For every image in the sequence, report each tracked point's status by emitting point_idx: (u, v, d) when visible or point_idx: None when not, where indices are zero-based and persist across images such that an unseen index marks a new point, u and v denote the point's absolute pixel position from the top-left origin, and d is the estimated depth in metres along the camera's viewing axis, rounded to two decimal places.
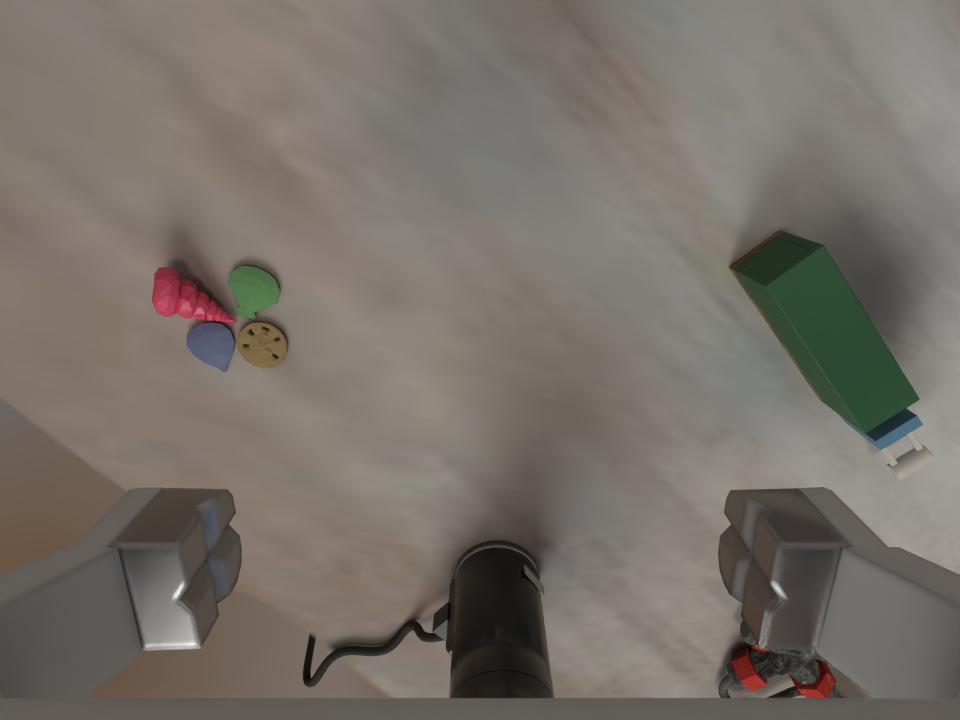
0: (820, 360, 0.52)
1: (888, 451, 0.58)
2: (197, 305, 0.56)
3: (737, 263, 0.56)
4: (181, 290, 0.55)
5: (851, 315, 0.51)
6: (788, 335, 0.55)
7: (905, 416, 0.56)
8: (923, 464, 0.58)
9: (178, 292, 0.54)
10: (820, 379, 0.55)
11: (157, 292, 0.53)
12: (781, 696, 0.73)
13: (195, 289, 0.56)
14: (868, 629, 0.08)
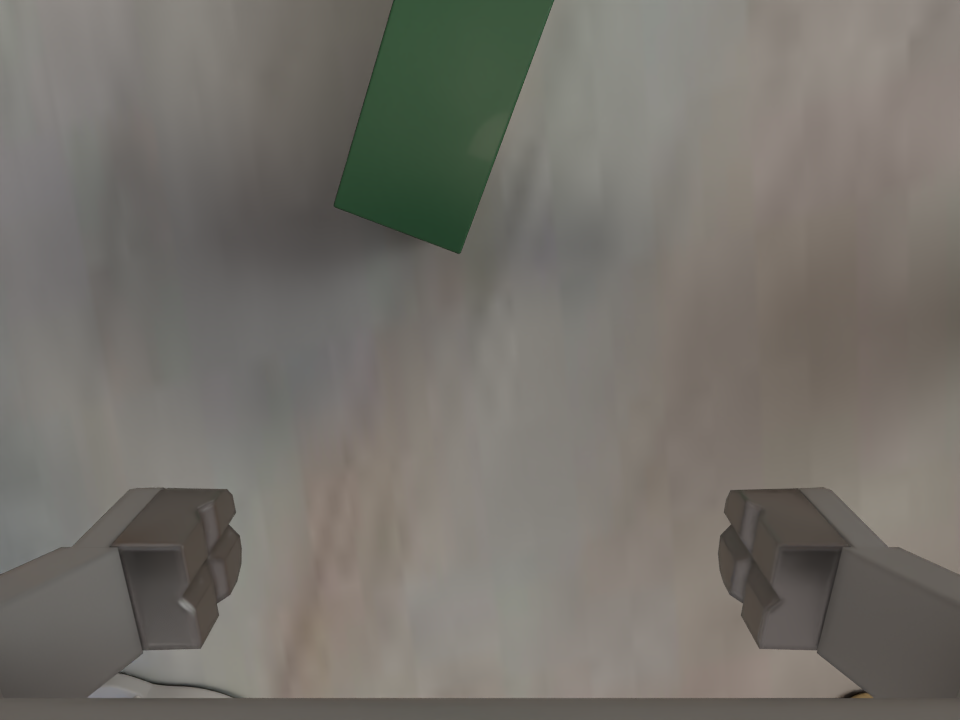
0: (533, 27, 0.22)
1: None
2: None
3: None
4: None
5: (412, 40, 0.22)
6: None
7: None
8: None
9: None
10: None
11: None
12: None
13: None
14: (868, 629, 0.08)
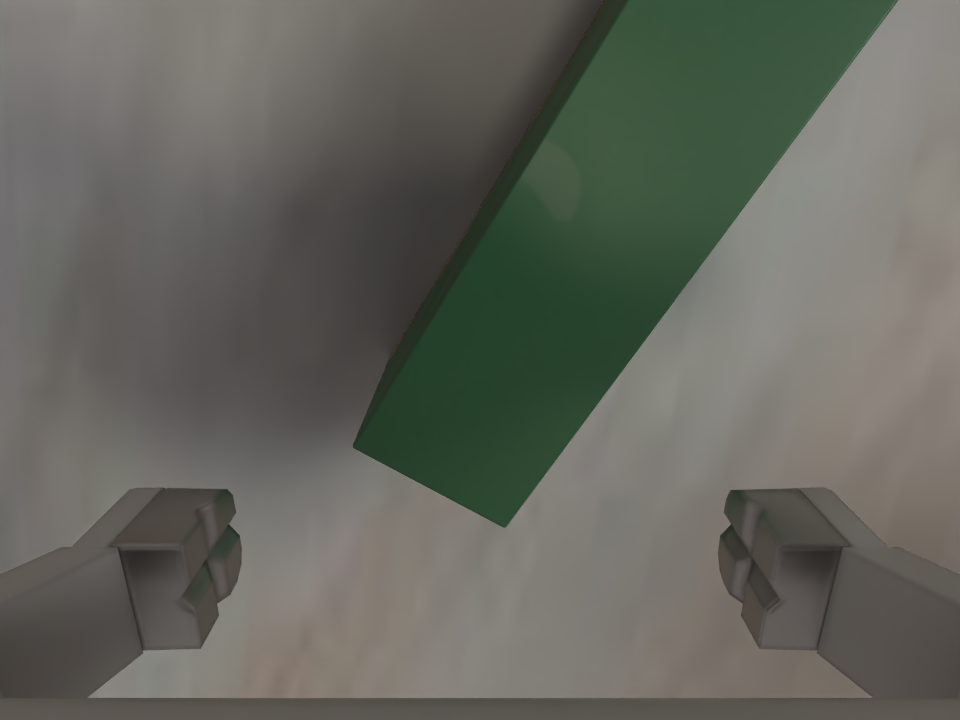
0: (667, 290, 0.16)
1: None
2: None
3: None
4: None
5: (504, 274, 0.16)
6: None
7: None
8: None
9: None
10: None
11: None
12: None
13: None
14: (868, 629, 0.08)
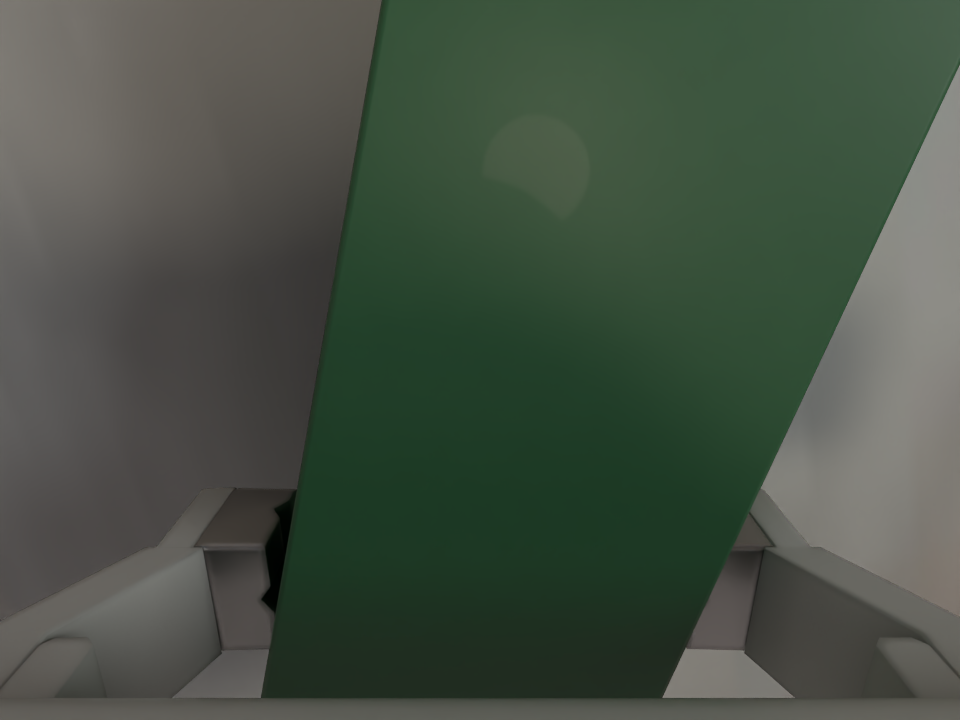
0: (792, 352, 0.07)
1: None
2: None
3: None
4: None
5: (401, 428, 0.07)
6: None
7: None
8: None
9: None
10: None
11: None
12: None
13: None
14: (789, 629, 0.08)
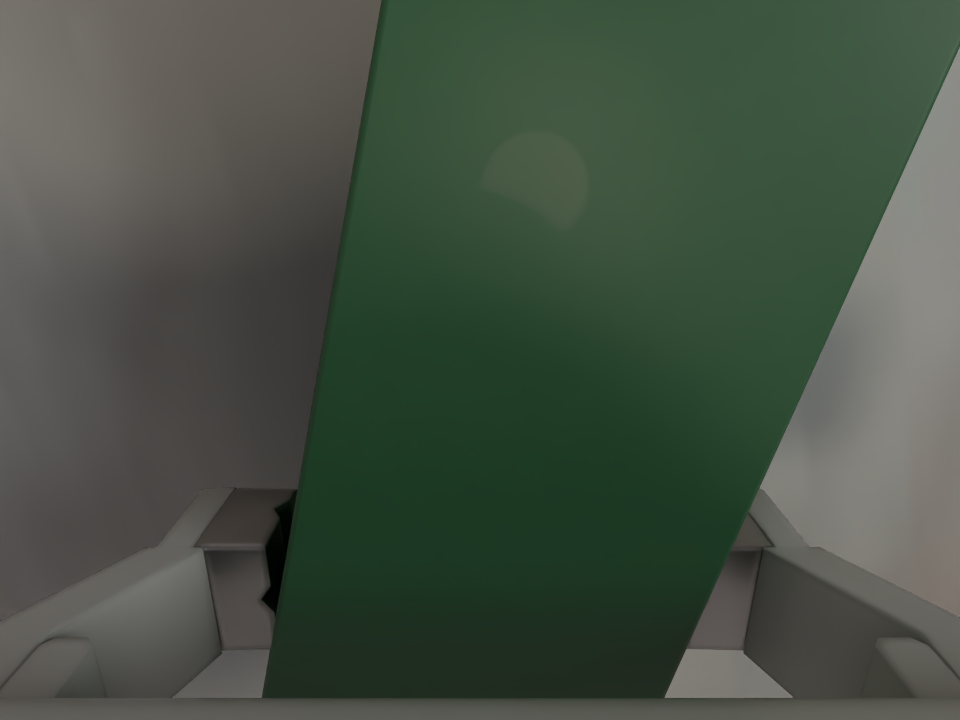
0: (791, 348, 0.07)
1: None
2: None
3: None
4: None
5: (402, 426, 0.07)
6: None
7: None
8: None
9: None
10: None
11: None
12: None
13: None
14: (788, 629, 0.08)
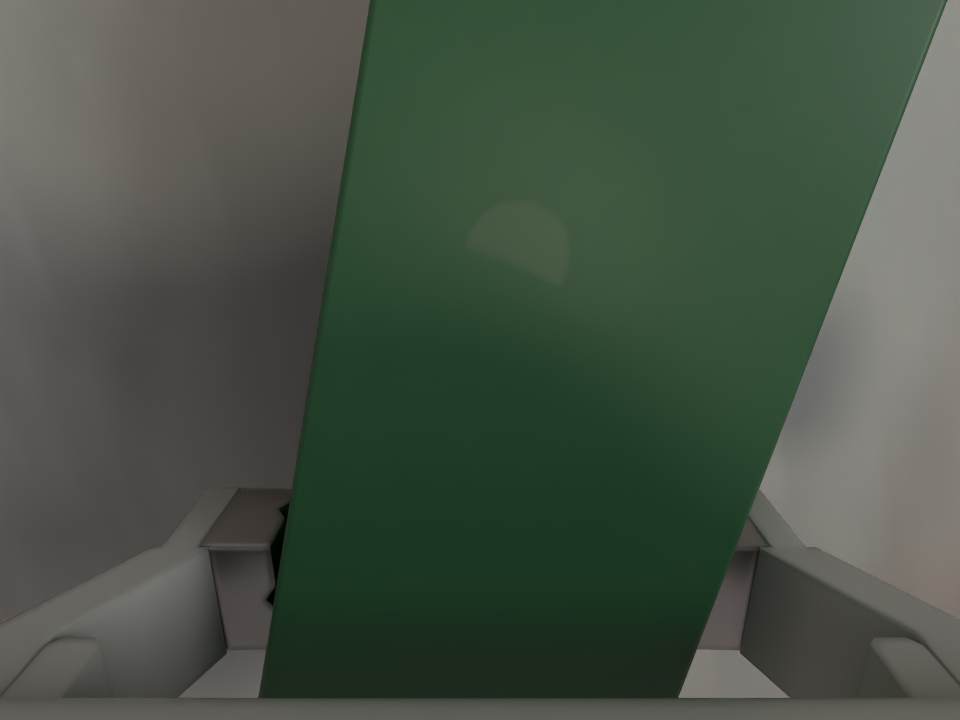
0: (786, 337, 0.07)
1: None
2: None
3: None
4: None
5: (397, 427, 0.07)
6: None
7: None
8: None
9: None
10: None
11: None
12: None
13: None
14: (784, 629, 0.08)
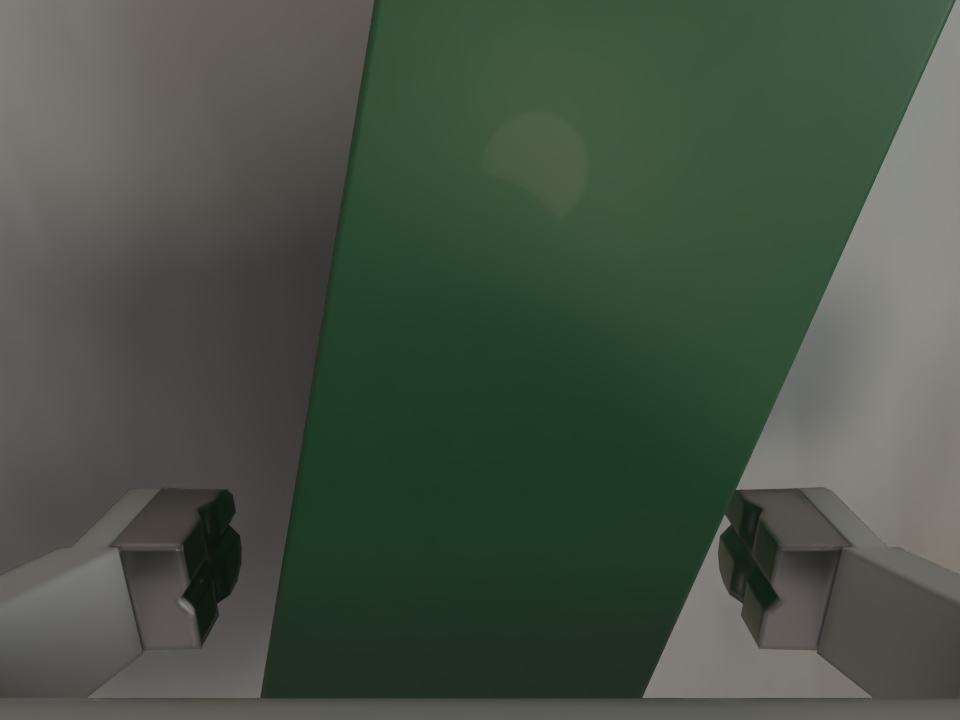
0: (772, 339, 0.07)
1: None
2: None
3: None
4: None
5: (397, 415, 0.07)
6: None
7: None
8: None
9: None
10: None
11: None
12: None
13: None
14: (868, 629, 0.08)
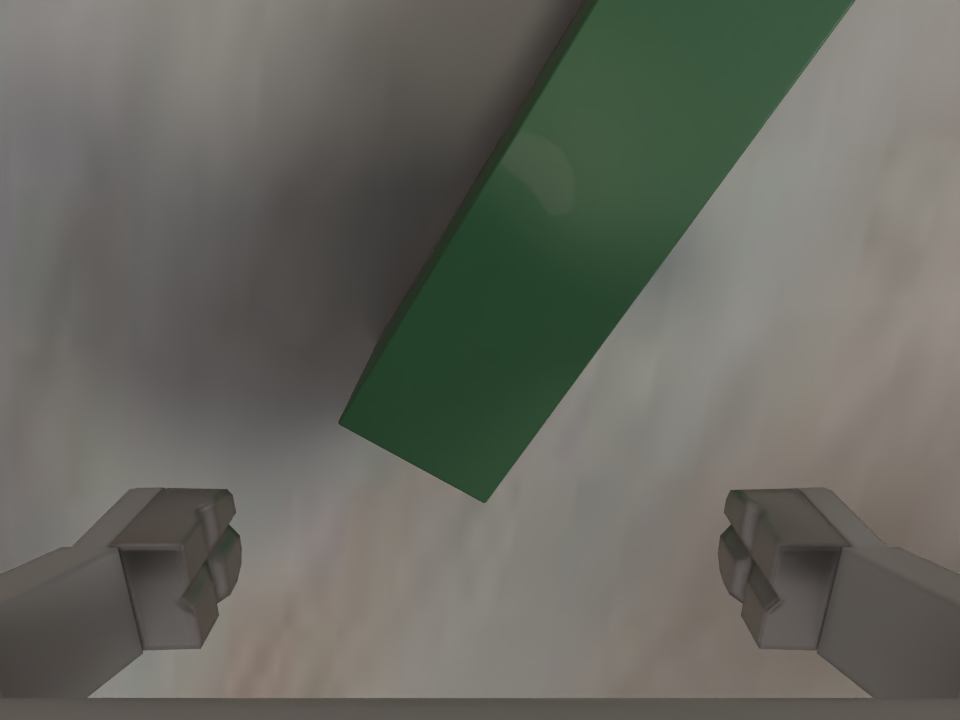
0: (639, 273, 0.17)
1: None
2: None
3: None
4: None
5: (483, 257, 0.17)
6: None
7: None
8: None
9: None
10: None
11: None
12: None
13: None
14: (868, 629, 0.08)
